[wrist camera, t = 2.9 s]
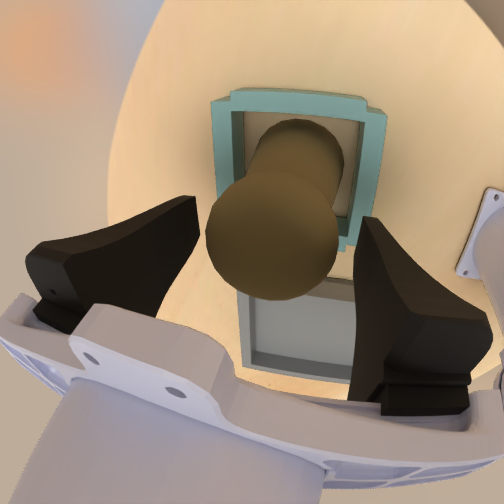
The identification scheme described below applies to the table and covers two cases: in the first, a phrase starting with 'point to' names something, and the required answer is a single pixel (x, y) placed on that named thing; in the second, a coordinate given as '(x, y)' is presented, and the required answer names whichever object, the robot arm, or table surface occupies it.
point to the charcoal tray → (301, 333)
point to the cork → (280, 215)
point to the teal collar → (309, 103)
